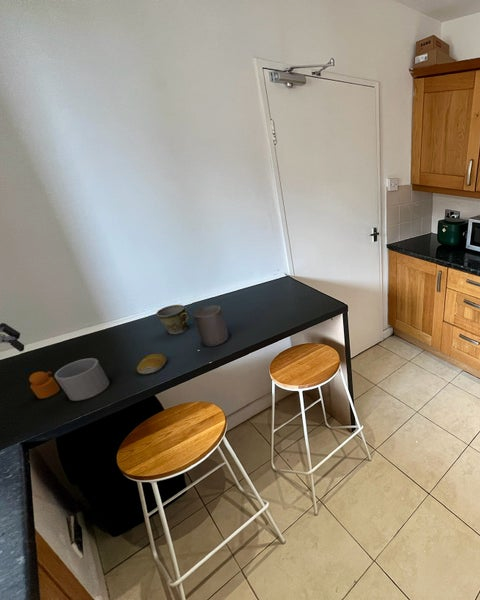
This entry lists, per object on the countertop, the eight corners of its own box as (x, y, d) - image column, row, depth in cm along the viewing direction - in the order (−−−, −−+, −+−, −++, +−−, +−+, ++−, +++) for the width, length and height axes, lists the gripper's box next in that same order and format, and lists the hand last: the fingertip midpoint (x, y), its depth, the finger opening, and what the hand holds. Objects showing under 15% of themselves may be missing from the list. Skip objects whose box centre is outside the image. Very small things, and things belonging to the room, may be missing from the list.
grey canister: (197, 342, 128) (186, 310, 121) (220, 330, 136) (210, 300, 129) (211, 349, 124) (200, 316, 117) (234, 337, 131) (224, 305, 124)
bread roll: (170, 357, 119) (166, 348, 117) (161, 372, 112) (157, 363, 110) (144, 361, 117) (140, 352, 115) (134, 376, 110) (129, 367, 108)
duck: (45, 399, 100) (31, 379, 96) (33, 397, 101) (18, 377, 97) (65, 387, 105) (53, 367, 101) (53, 385, 106) (41, 365, 102)
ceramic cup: (158, 335, 133) (150, 315, 128) (176, 323, 141) (169, 303, 137) (186, 337, 131) (178, 317, 126) (203, 325, 140) (196, 305, 135)
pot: (85, 402, 99) (71, 381, 95) (60, 398, 101) (45, 376, 96) (117, 381, 108) (105, 360, 103) (93, 377, 109) (81, 356, 105)
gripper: (-81, 328, 87) (-25, 366, 90) (-12, 305, 100) (35, 339, 103) (-80, 342, 91) (-27, 378, 94) (-14, 318, 103) (31, 350, 106)
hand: (5, 357), depth 98 cm, fingers open, 8 cm apart
